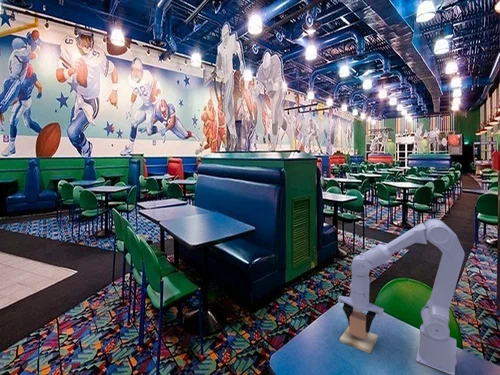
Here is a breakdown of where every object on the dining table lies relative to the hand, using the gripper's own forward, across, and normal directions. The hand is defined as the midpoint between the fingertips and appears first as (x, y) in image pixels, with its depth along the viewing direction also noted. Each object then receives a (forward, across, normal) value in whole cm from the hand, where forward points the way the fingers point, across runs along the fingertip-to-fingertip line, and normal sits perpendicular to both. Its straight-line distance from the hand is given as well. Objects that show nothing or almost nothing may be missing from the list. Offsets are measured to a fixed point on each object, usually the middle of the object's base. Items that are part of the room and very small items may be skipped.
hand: (359, 328), depth 91 cm
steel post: (+4, 0, 0) cm, 4 cm away
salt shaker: (+4, +6, -15) cm, 17 cm away
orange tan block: (+2, 0, 0) cm, 2 cm away
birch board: (+4, 0, 0) cm, 4 cm away
